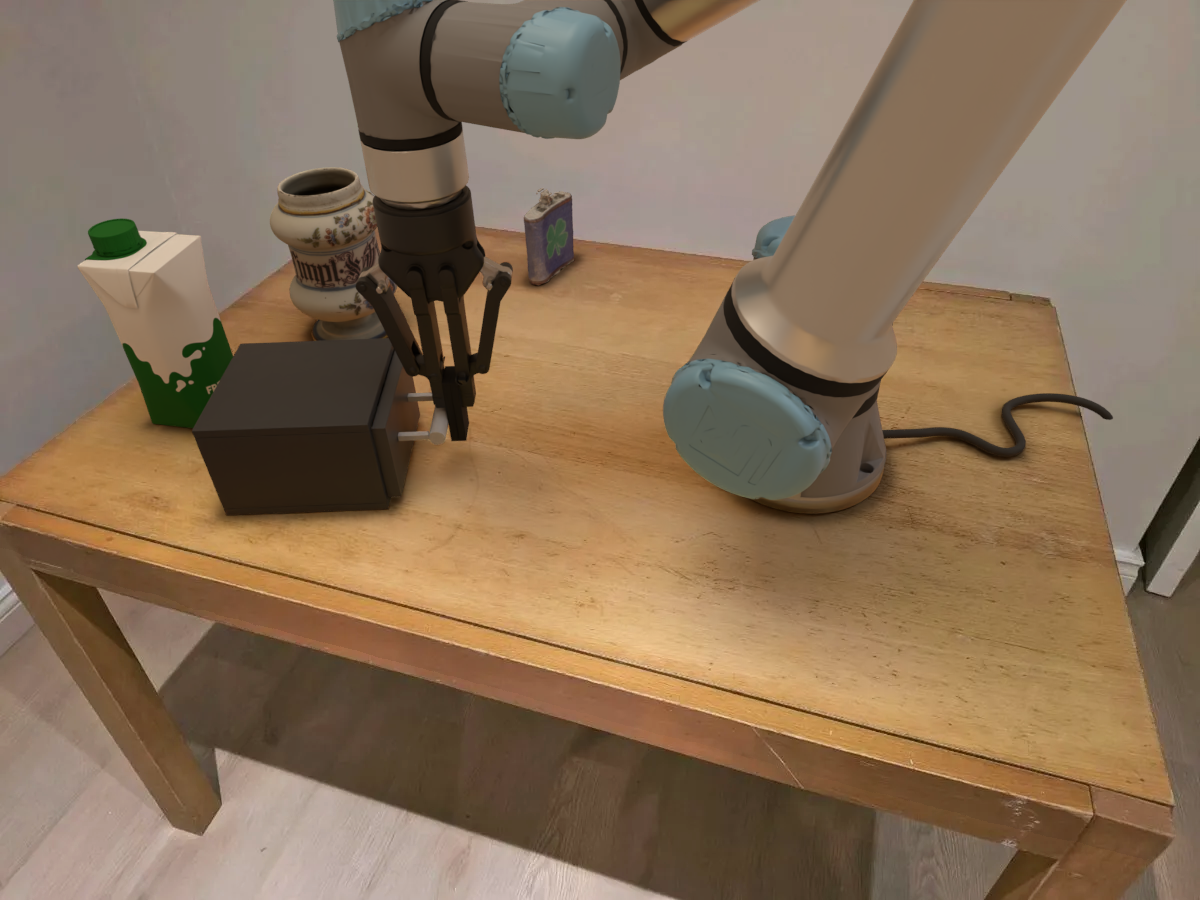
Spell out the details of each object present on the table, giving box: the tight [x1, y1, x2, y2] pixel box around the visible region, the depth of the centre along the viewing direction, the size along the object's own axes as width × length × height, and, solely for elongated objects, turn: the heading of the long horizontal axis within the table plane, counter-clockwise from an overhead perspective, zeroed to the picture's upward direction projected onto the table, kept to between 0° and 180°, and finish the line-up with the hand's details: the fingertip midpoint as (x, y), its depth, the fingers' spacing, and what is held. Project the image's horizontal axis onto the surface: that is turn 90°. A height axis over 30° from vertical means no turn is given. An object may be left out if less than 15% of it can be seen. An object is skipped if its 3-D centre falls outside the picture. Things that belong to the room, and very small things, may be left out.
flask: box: [523, 187, 575, 287], centre depth 109 cm, size 9×3×11 cm, turn 150°
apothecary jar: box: [269, 166, 398, 341], centre depth 97 cm, size 12×12×18 cm
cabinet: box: [191, 337, 394, 516], centre depth 80 cm, size 15×14×10 cm
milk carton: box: [77, 218, 234, 429], centre depth 85 cm, size 9×9×20 cm
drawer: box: [371, 350, 449, 498], centre depth 80 cm, size 18×12×8 cm
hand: (460, 431), depth 81 cm, fingers closed
